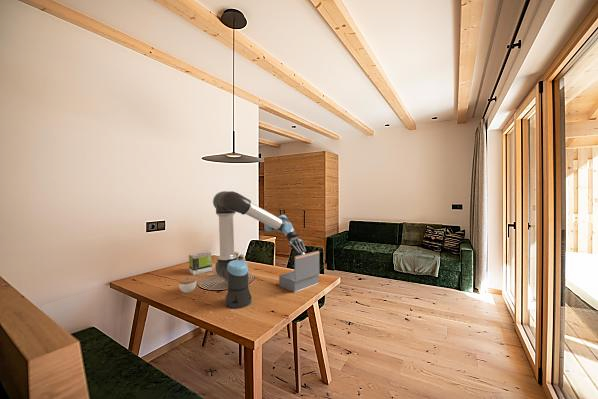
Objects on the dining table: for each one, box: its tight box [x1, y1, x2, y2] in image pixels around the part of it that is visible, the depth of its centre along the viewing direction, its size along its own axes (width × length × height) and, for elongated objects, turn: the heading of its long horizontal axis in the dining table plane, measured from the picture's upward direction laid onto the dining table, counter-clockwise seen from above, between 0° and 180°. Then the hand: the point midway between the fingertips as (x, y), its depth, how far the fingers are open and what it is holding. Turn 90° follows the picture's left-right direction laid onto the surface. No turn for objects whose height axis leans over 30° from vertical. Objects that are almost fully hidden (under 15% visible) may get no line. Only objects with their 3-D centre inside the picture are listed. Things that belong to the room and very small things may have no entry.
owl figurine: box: [234, 251, 246, 262], centre depth 199 cm, size 18×12×17 cm, turn 151°
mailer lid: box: [293, 250, 320, 282], centre depth 166 cm, size 22×16×1 cm
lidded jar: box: [178, 276, 197, 294], centre depth 164 cm, size 11×11×9 cm
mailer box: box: [278, 270, 320, 293], centre depth 173 cm, size 22×16×7 cm
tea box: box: [188, 250, 213, 276], centre depth 203 cm, size 15×10×15 cm
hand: (307, 261), depth 168 cm, fingers closed
